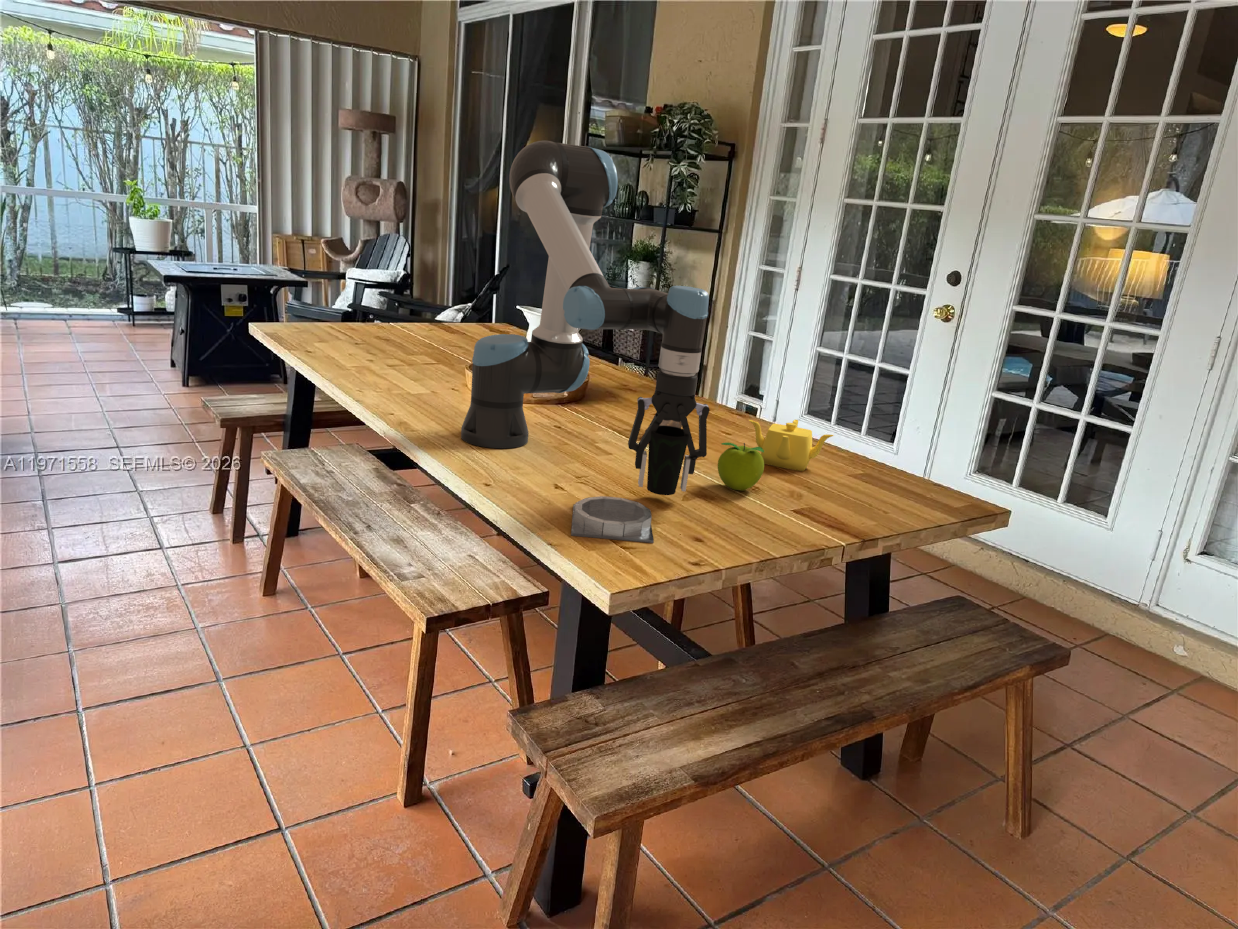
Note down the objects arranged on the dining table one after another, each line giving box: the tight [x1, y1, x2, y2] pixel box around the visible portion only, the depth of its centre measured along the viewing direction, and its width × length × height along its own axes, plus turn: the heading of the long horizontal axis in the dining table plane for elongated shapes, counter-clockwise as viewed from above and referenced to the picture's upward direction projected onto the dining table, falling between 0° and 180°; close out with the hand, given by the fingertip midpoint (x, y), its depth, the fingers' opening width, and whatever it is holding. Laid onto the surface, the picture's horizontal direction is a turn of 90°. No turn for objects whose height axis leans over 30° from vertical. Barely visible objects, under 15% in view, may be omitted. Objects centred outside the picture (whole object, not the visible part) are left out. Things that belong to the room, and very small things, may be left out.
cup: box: [646, 425, 689, 496], centre depth 161 cm, size 8×8×12 cm
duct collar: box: [570, 495, 655, 544], centre depth 148 cm, size 14×14×3 cm
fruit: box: [717, 442, 765, 492], centre depth 174 cm, size 9×9×10 cm
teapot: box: [748, 419, 835, 472], centre depth 197 cm, size 15×14×10 cm
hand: (661, 486), depth 163 cm, fingers closed on cup, 8 cm apart
